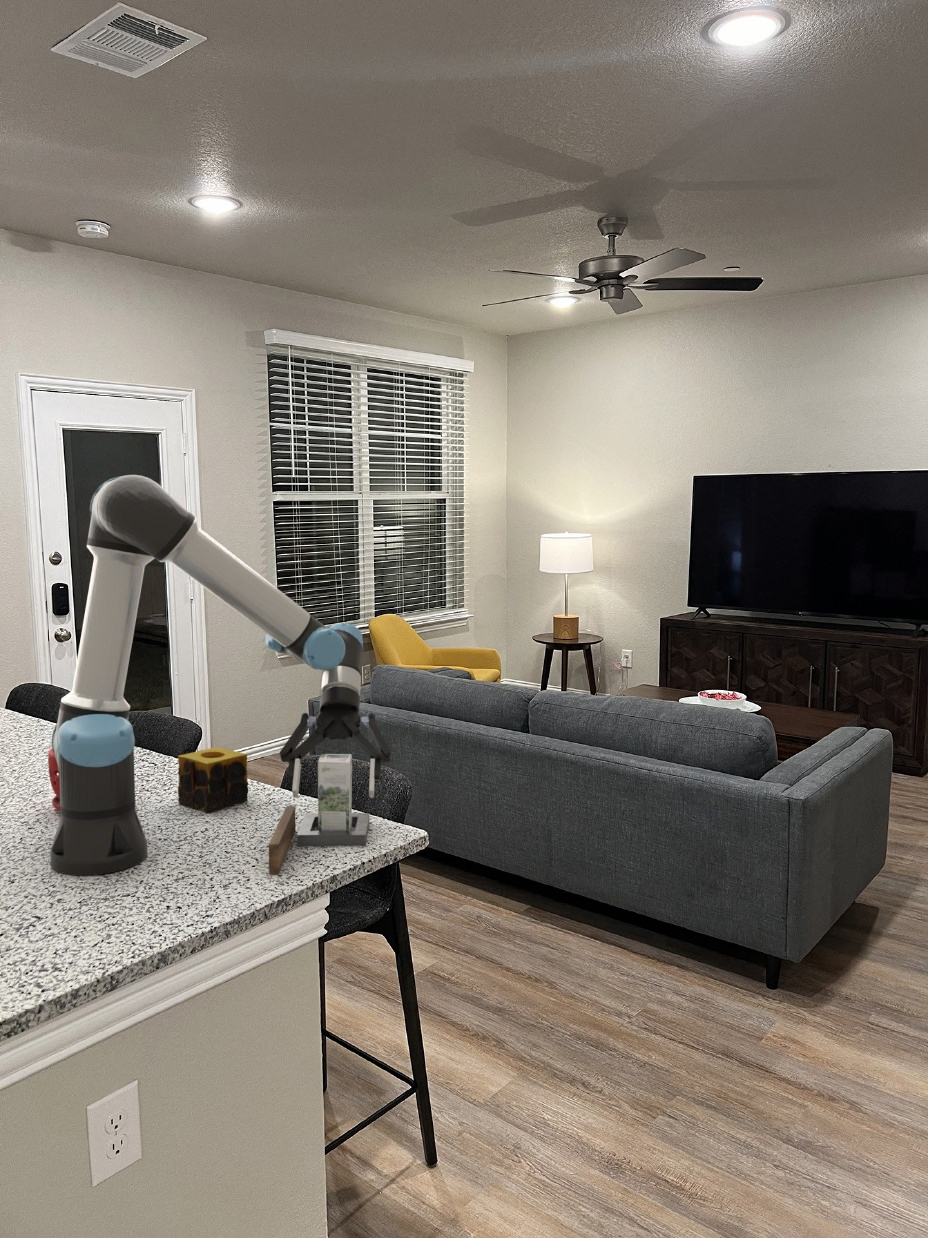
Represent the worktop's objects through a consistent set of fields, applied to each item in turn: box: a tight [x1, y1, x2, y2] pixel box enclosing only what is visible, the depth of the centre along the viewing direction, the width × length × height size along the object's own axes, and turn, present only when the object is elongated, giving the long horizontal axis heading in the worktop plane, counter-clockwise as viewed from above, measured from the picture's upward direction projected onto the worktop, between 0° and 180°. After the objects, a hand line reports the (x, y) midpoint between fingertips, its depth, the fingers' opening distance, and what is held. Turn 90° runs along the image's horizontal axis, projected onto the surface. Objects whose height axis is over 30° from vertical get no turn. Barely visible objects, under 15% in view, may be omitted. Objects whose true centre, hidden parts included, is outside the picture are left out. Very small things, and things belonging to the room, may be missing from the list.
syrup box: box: [317, 753, 353, 831], centre depth 170 cm, size 6×6×14 cm
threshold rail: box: [268, 805, 296, 875], centre depth 161 cm, size 2×20×5 cm, turn 3°
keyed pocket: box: [296, 812, 371, 847], centre depth 171 cm, size 12×12×2 cm
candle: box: [177, 746, 249, 814], centre depth 188 cm, size 10×10×10 cm
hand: (333, 794), depth 168 cm, fingers open, 13 cm apart
